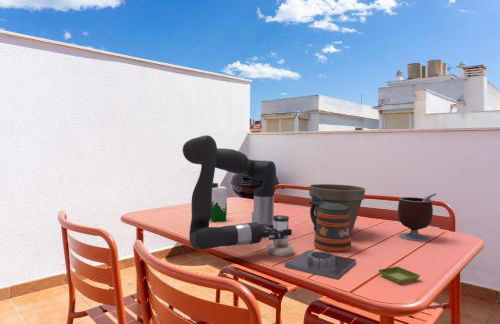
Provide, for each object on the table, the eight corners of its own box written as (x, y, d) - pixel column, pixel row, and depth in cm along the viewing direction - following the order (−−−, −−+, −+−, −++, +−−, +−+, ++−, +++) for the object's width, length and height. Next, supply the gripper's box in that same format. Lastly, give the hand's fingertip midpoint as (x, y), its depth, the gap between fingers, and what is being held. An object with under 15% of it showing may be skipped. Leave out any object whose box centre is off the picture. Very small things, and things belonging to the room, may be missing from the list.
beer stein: (297, 244, 141) (298, 195, 140) (318, 237, 152) (319, 192, 151) (338, 255, 128) (339, 201, 127) (358, 247, 138) (359, 197, 137)
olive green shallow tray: (397, 272, 111) (397, 266, 111) (420, 282, 104) (421, 275, 103) (377, 276, 108) (377, 269, 108) (399, 287, 100) (400, 280, 100)
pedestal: (262, 253, 129) (262, 246, 129) (275, 246, 137) (275, 240, 137) (285, 258, 123) (285, 251, 123) (298, 251, 132) (298, 244, 131)
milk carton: (207, 219, 188) (207, 182, 187) (223, 218, 191) (223, 182, 190) (212, 222, 180) (212, 184, 179) (228, 221, 183) (228, 183, 182)
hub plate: (284, 266, 115) (284, 257, 114) (308, 253, 129) (308, 244, 129) (337, 279, 104) (337, 268, 104) (356, 262, 119) (356, 253, 119)
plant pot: (362, 228, 169) (363, 184, 168) (365, 242, 145) (366, 190, 144) (311, 225, 176) (311, 182, 175) (305, 237, 152) (306, 188, 151)
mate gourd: (402, 241, 147) (403, 194, 146) (393, 233, 161) (394, 190, 160) (441, 242, 145) (442, 195, 144) (428, 234, 159) (430, 191, 158)
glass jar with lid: (270, 246, 129) (270, 217, 129) (277, 242, 134) (278, 214, 134) (283, 248, 126) (283, 219, 126) (291, 245, 131) (291, 216, 130)
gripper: (255, 227, 117) (295, 223, 124) (238, 219, 130) (276, 216, 137) (254, 249, 118) (295, 244, 125) (238, 239, 130) (275, 234, 137)
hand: (285, 229), depth 131 cm, fingers open, 8 cm apart
